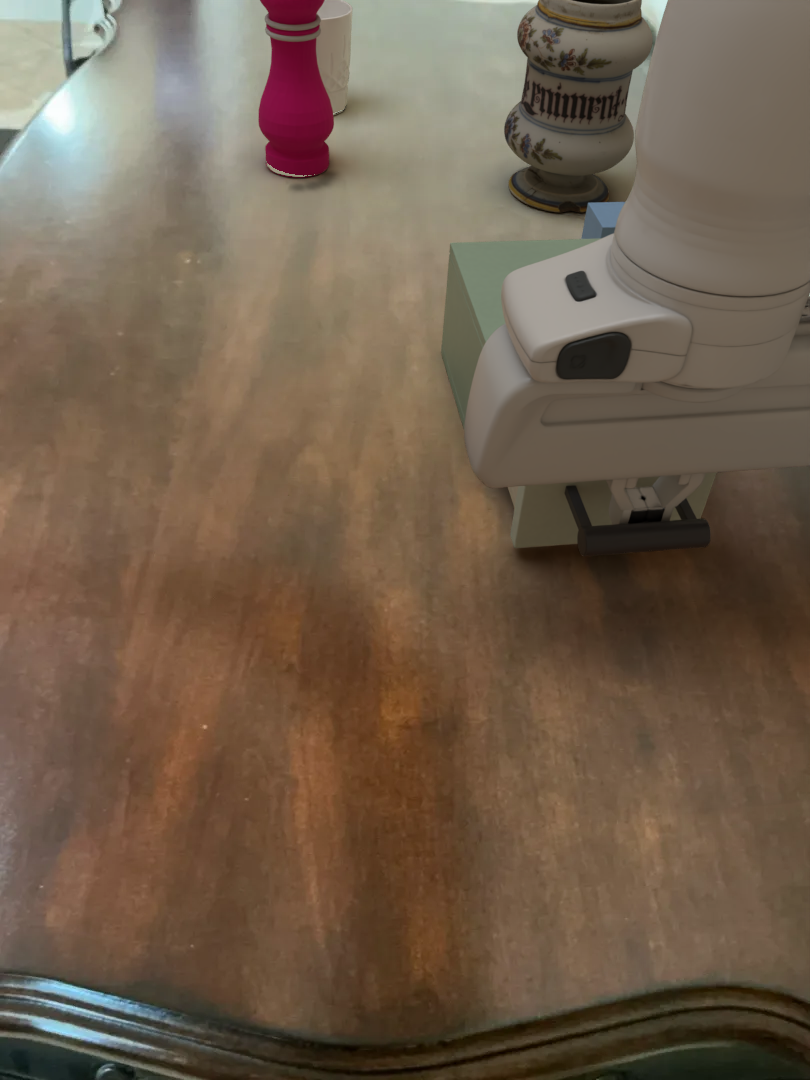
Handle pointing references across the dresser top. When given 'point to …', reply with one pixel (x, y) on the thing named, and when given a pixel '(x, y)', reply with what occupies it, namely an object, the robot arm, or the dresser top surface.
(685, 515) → the drawer
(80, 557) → the dresser top surface
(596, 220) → the slate blue block
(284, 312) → the dresser top surface
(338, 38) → the white cup
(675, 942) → the dresser top surface
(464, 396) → the green drawer cabinet
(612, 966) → the dresser top surface
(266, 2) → the pepper mill
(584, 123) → the apothecary jar
